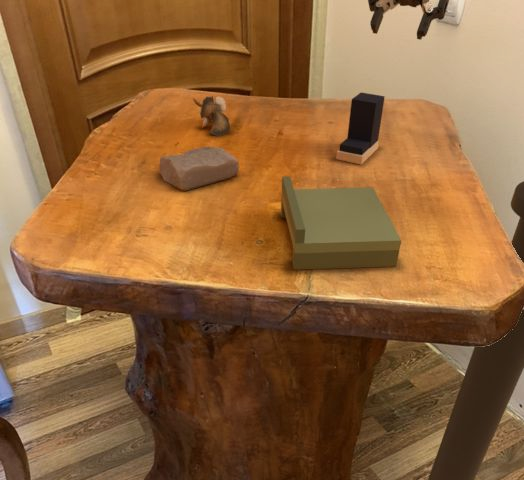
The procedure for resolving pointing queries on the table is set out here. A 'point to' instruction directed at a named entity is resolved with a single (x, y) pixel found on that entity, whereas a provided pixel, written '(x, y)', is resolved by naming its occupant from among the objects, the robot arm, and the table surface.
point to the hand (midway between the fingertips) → (396, 33)
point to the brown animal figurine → (214, 114)
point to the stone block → (198, 167)
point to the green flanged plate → (338, 228)
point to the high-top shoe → (362, 128)
